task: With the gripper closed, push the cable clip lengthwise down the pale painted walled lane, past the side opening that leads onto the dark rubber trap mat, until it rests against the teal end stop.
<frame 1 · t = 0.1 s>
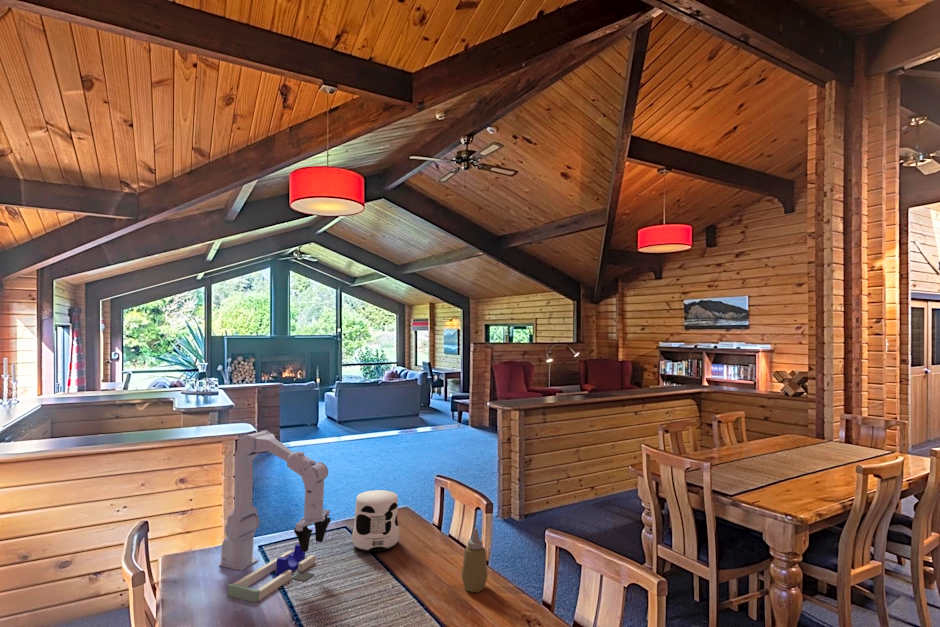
hand: (311, 546, 156), 10 cm above the table, fingers open, 7 cm apart
lane: (275, 577, 155), on the table
cable clip: (288, 570, 161), on the table
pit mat: (303, 576, 156), on the table
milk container: (375, 546, 181), on the table
squeeze bottle: (474, 589, 152), on the table
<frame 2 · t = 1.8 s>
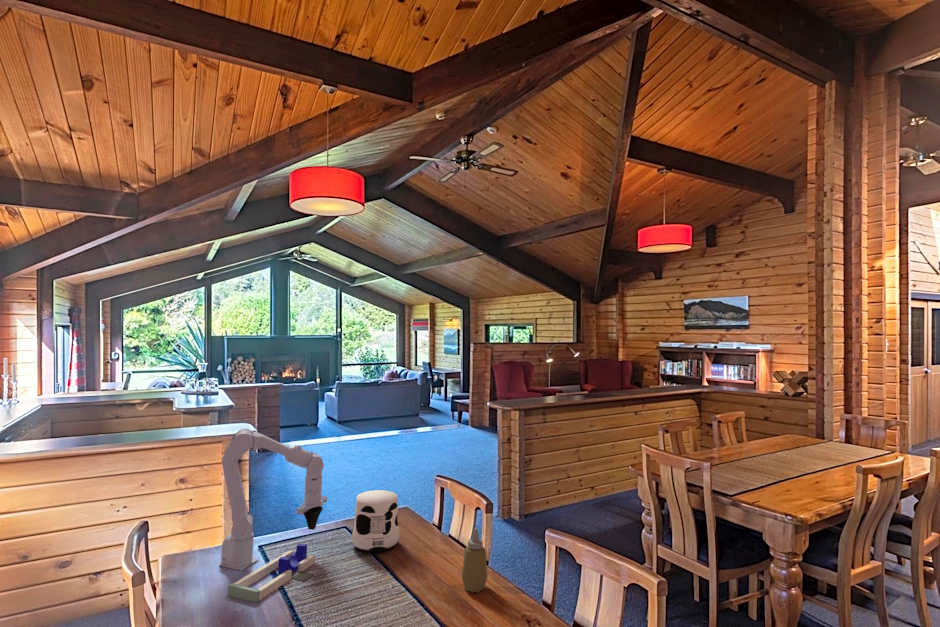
hand: (311, 528, 172), 9 cm above the table, fingers closed
nothing on the table moved.
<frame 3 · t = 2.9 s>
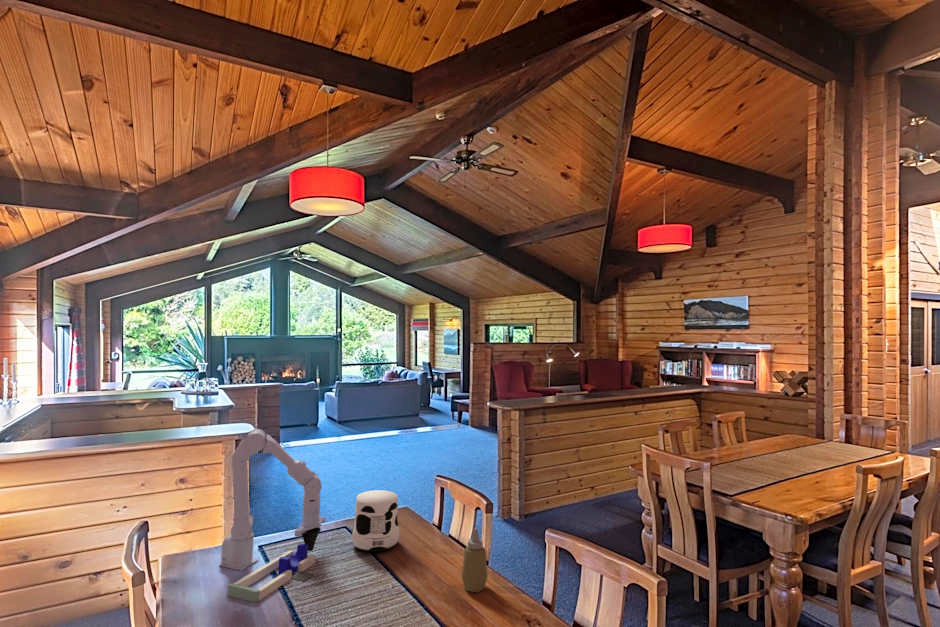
hand: (309, 550, 171), 2 cm above the table, fingers closed
nothing on the table moved.
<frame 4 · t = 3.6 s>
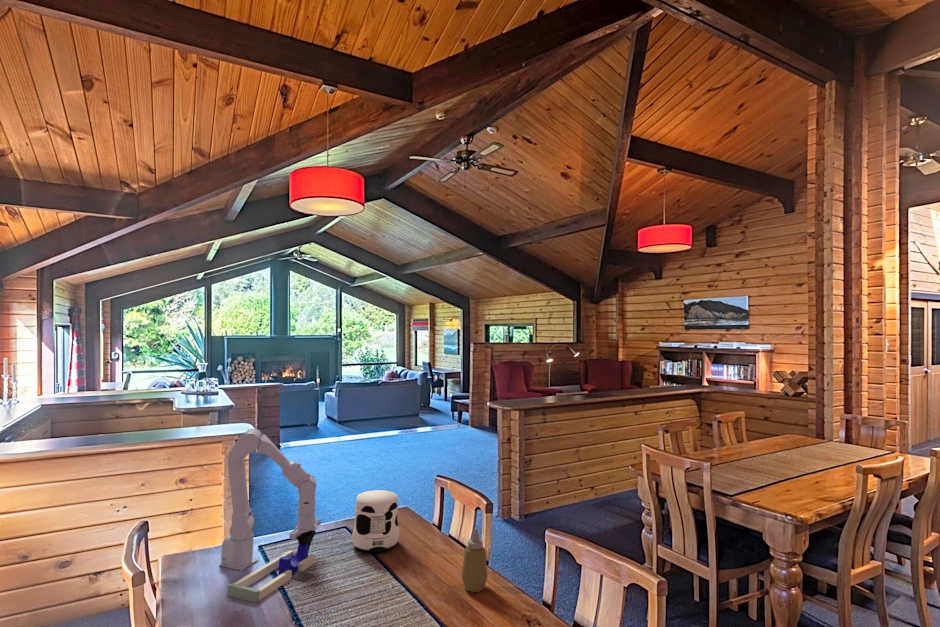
hand: (304, 553, 169), 2 cm above the table, fingers closed
cable clip: (291, 570, 161), on the table, touching gripper
everything else where it was.
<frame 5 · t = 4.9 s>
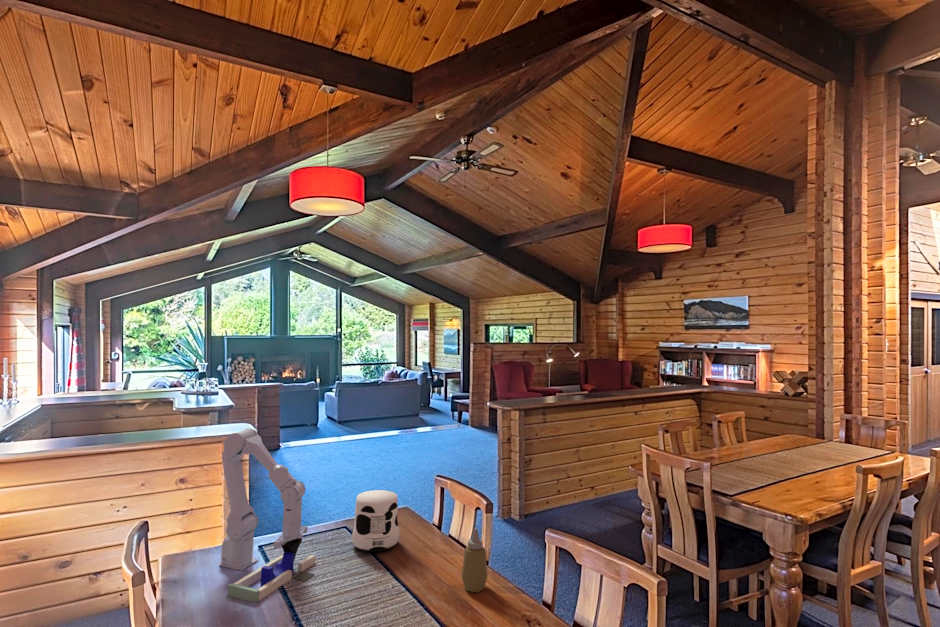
hand: (290, 562, 162), 2 cm above the table, fingers closed
cable clip: (275, 579, 154), on the table, touching gripper
everything else where it was.
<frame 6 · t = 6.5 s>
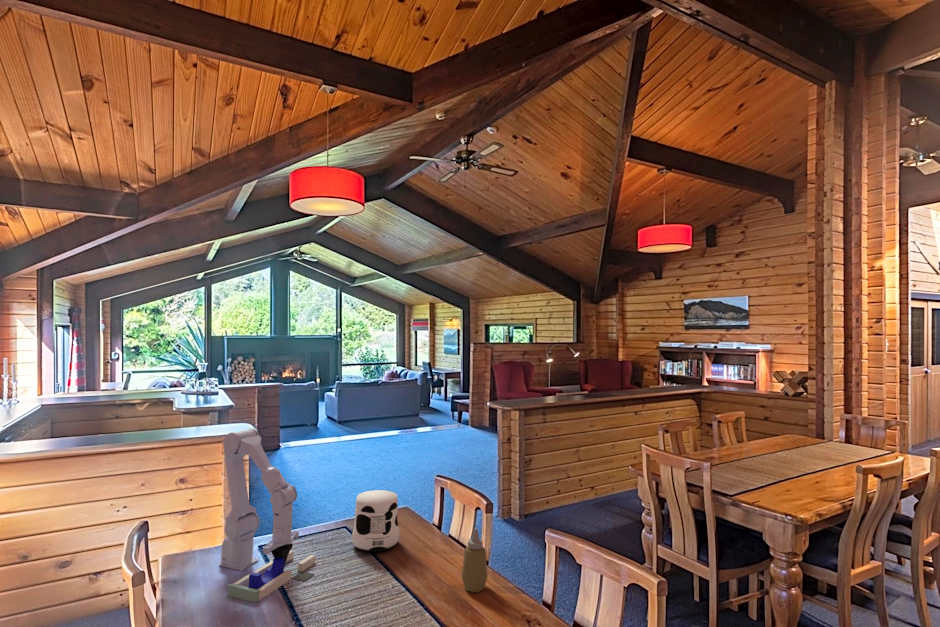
hand: (280, 568, 157), 2 cm above the table, fingers closed
cable clip: (264, 586, 150), on the table, touching gripper
everything else where it was.
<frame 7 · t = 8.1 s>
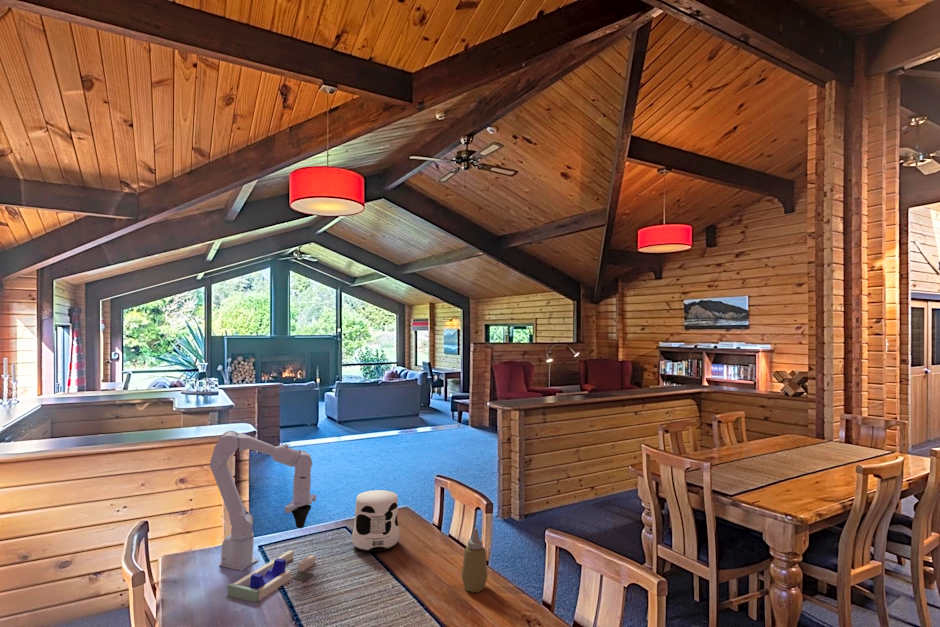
hand: (300, 527, 171), 10 cm above the table, fingers closed
cable clip: (265, 587, 149), on the table
everything else where it was.
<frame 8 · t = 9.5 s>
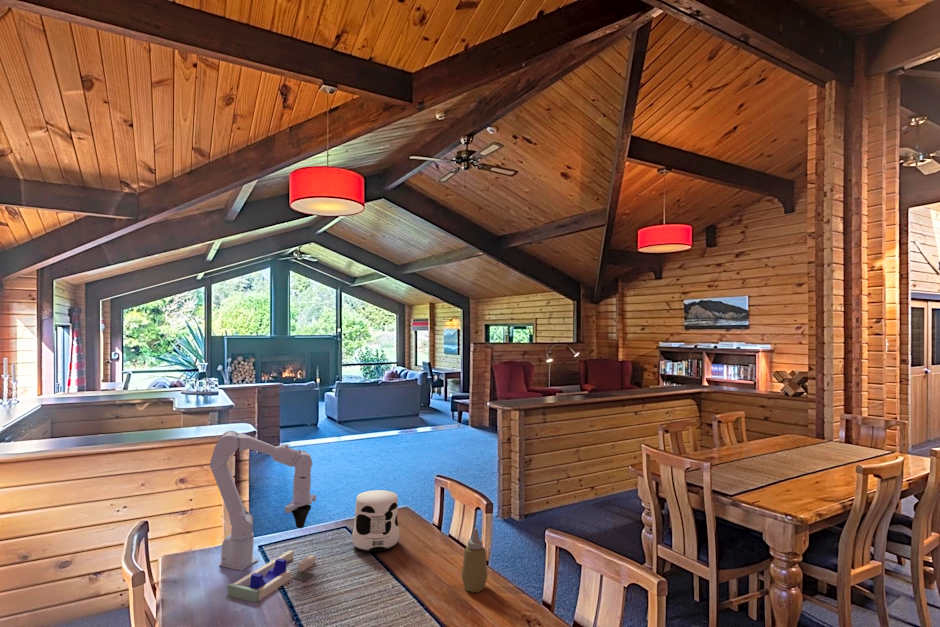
hand: (300, 527, 171), 10 cm above the table, fingers closed
nothing on the table moved.
at the end: cable clip 1.6 cm from the target spot, on the table; cable clip tilted 0° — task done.
